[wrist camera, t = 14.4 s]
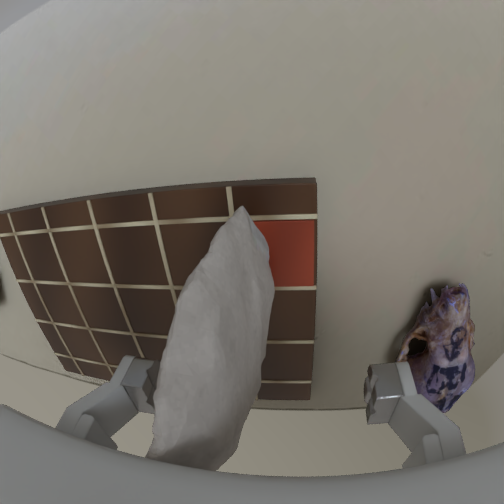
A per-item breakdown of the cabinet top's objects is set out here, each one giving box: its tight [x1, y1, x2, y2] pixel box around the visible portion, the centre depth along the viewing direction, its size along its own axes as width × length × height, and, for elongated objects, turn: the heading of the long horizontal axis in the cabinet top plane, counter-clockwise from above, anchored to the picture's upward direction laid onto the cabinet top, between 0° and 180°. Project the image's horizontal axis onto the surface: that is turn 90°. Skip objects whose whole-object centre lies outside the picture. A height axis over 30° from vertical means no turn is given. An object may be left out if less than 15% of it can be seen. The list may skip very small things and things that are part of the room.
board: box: [0, 178, 317, 400], centre depth 24 cm, size 28×20×1 cm
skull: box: [395, 283, 475, 413], centre depth 20 cm, size 12×8×6 cm, turn 3°
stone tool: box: [145, 206, 275, 471], centre depth 13 cm, size 9×3×15 cm, turn 14°
